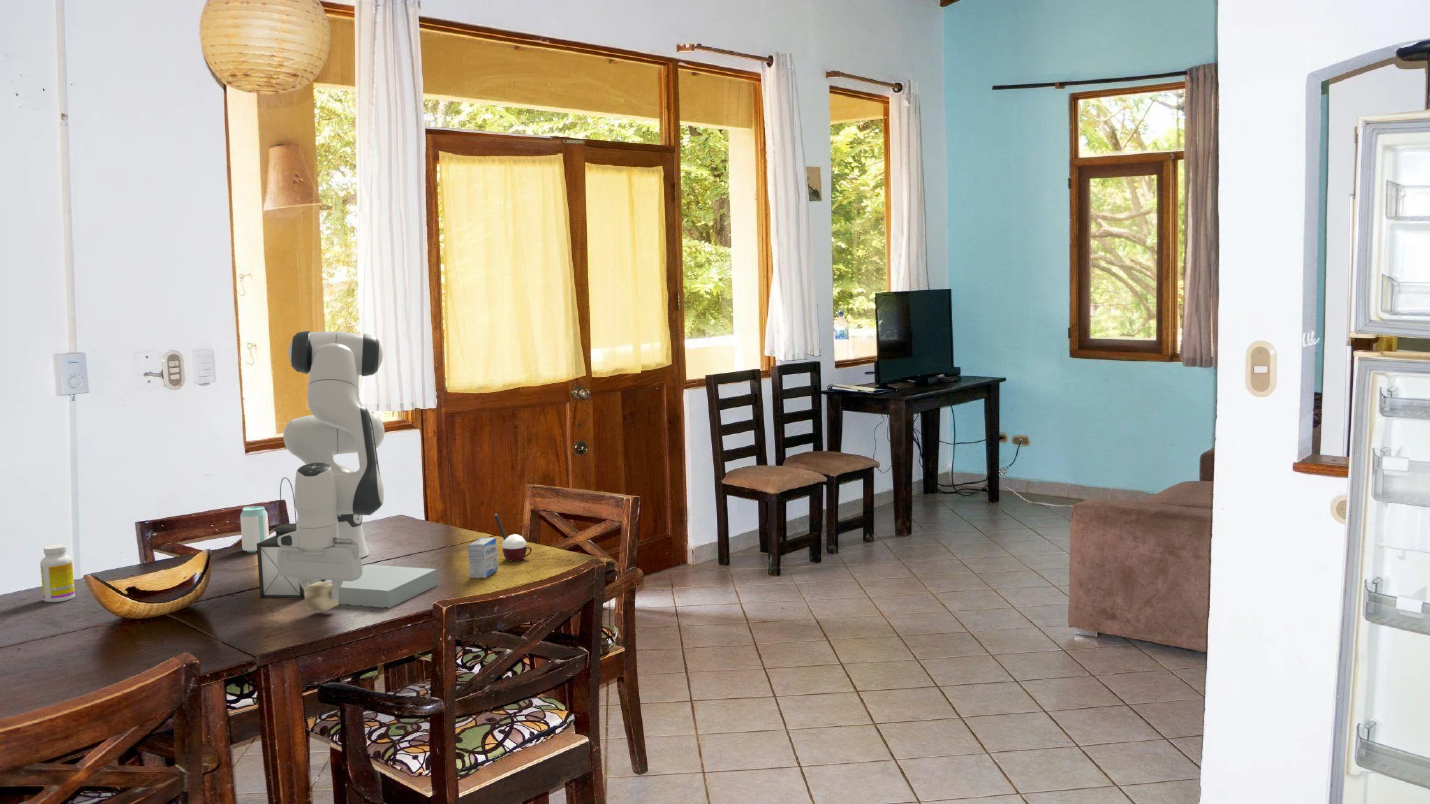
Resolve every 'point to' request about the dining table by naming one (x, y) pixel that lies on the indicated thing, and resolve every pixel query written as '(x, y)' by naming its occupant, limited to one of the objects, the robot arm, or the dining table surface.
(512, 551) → the cocoa
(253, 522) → the can
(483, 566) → the medicine box
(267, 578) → the lantern
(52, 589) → the supplement bottle
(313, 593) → the maple cube
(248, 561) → the dining table surface
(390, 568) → the stand
